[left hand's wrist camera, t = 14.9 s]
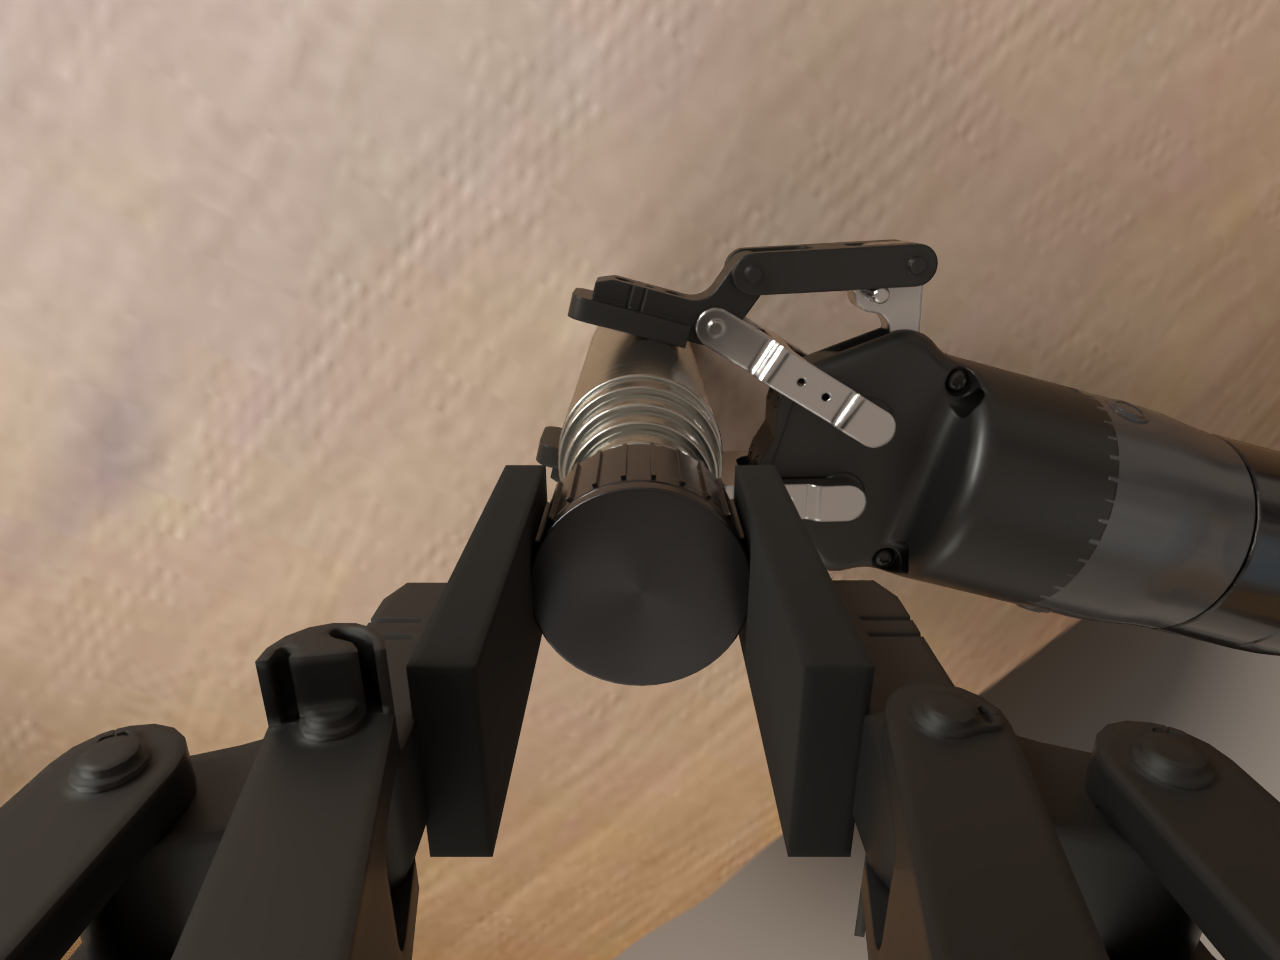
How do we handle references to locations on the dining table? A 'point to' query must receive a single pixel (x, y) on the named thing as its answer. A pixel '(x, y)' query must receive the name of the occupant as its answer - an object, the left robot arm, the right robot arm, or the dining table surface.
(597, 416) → the bottle
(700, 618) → the cap
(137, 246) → the dining table surface
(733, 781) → the dining table surface
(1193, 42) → the dining table surface
